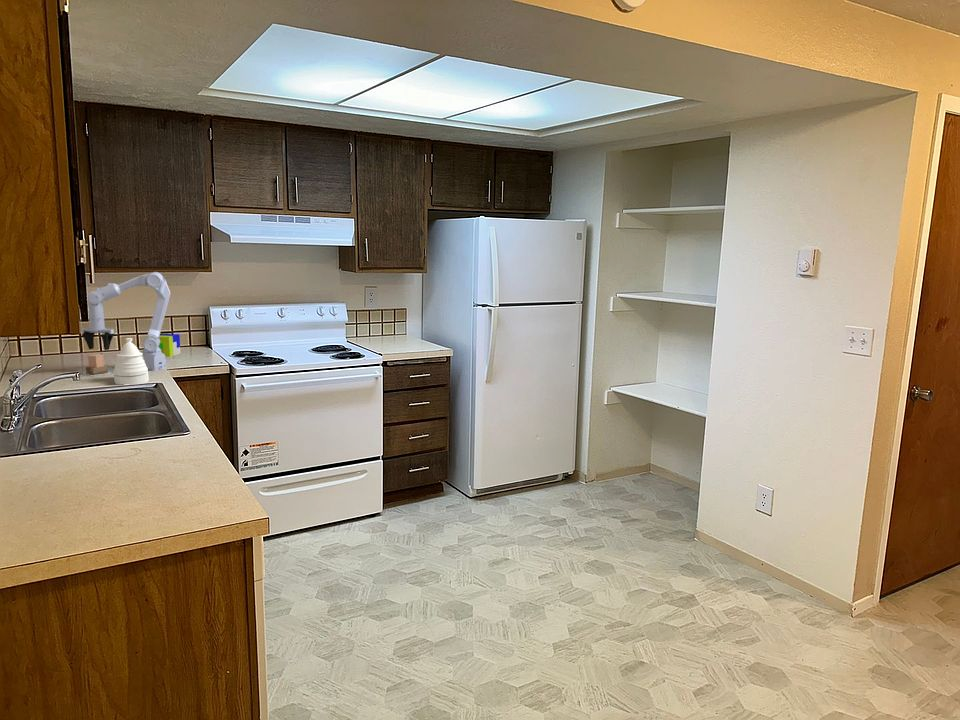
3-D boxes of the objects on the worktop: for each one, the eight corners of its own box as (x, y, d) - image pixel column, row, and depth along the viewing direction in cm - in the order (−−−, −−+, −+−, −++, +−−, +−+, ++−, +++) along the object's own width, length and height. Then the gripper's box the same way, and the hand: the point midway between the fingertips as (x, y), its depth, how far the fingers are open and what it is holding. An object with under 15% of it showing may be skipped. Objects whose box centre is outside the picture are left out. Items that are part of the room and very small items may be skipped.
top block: (103, 366, 292) (103, 354, 291) (96, 367, 288) (95, 356, 287) (96, 365, 292) (95, 354, 292) (88, 367, 289) (87, 355, 288)
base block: (107, 373, 292) (107, 366, 291) (93, 375, 287) (93, 368, 286) (99, 371, 295) (99, 364, 294) (85, 373, 290) (85, 366, 289)
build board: (132, 372, 299) (132, 369, 299) (91, 379, 284) (91, 376, 284) (116, 369, 305) (116, 366, 305) (76, 375, 290) (76, 372, 290)
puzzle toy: (180, 353, 349) (179, 334, 347) (169, 356, 339) (168, 337, 337) (162, 352, 350) (161, 333, 348) (151, 355, 340) (149, 336, 338)
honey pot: (115, 379, 285) (112, 337, 281) (149, 377, 290) (146, 336, 286) (112, 385, 273) (109, 342, 270) (148, 383, 278) (145, 340, 275)
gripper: (118, 318, 296) (120, 348, 298) (88, 316, 298) (90, 347, 300) (106, 320, 289) (109, 351, 291) (76, 318, 291) (79, 349, 293)
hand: (99, 349), depth 295 cm, fingers open, 7 cm apart
